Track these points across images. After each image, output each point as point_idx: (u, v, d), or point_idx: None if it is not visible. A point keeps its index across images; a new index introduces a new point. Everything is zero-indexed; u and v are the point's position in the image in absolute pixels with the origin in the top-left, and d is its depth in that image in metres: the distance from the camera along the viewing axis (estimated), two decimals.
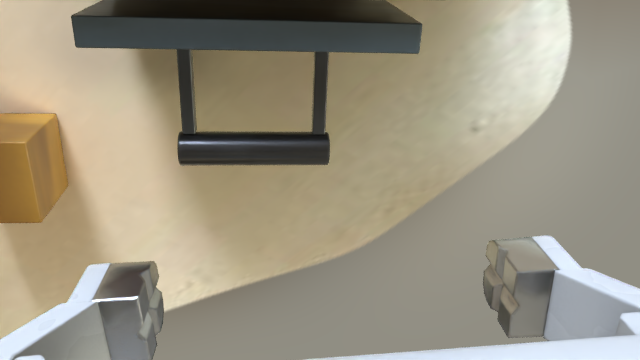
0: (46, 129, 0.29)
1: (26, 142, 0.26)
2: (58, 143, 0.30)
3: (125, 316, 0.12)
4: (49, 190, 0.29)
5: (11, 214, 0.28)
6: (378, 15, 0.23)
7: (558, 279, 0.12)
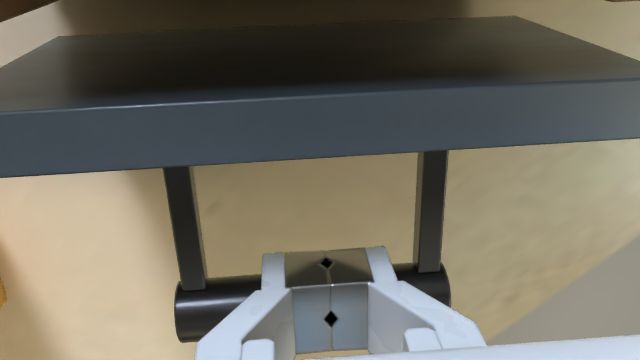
0: None
1: None
2: None
3: (314, 303, 0.12)
4: None
5: None
6: (558, 57, 0.12)
7: (371, 292, 0.12)
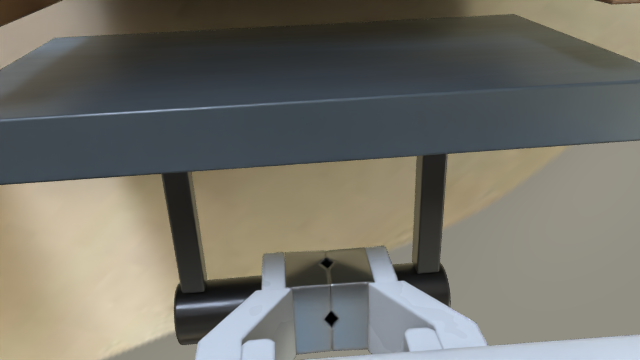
0: None
1: None
2: None
3: (315, 303, 0.12)
4: None
5: None
6: (557, 58, 0.11)
7: (372, 292, 0.12)
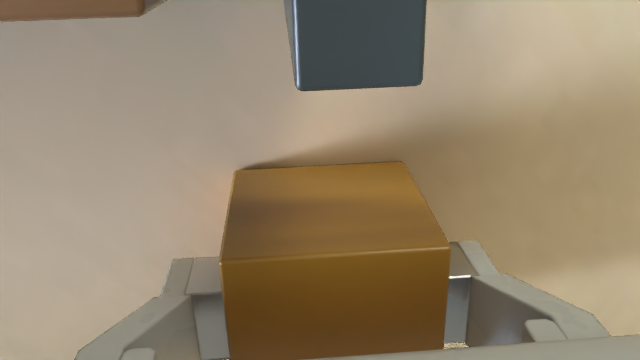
0: (242, 198, 0.13)
1: (220, 260, 0.10)
2: (296, 173, 0.14)
3: (216, 310, 0.12)
4: (383, 208, 0.12)
5: (422, 308, 0.11)
6: None
7: (475, 285, 0.12)
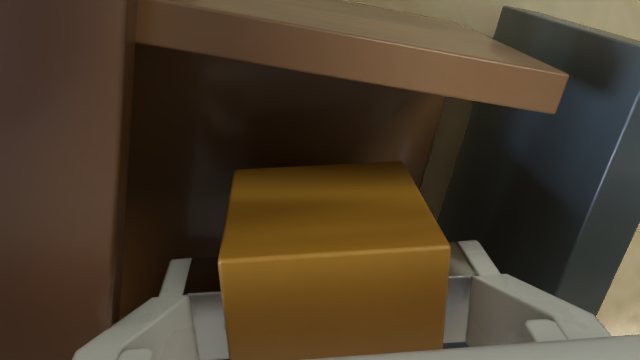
0: (241, 197, 0.13)
1: (219, 259, 0.10)
2: (296, 172, 0.14)
3: (214, 310, 0.12)
4: (382, 208, 0.12)
5: (421, 307, 0.11)
6: (576, 100, 0.12)
7: (475, 285, 0.12)
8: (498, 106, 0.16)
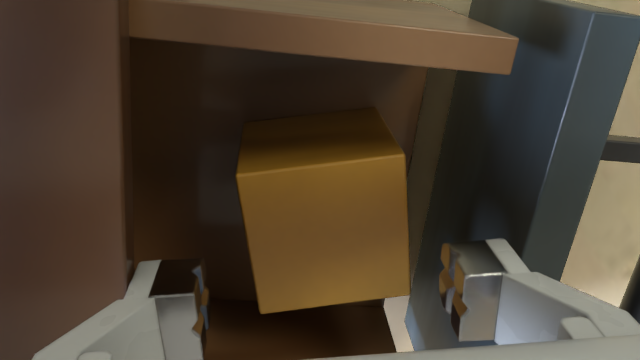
0: (250, 139, 0.16)
1: (236, 174, 0.14)
2: (292, 120, 0.18)
3: (180, 312, 0.12)
4: (356, 136, 0.16)
5: (388, 204, 0.15)
6: (536, 63, 0.13)
7: (506, 283, 0.12)
8: (475, 77, 0.17)
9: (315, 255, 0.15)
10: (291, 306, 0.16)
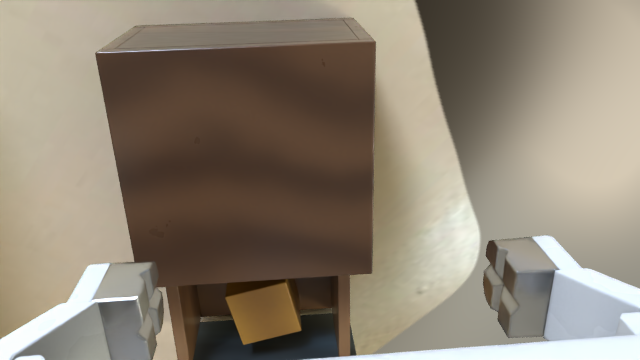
0: None
1: (285, 282, 0.38)
2: None
3: (125, 316, 0.12)
4: (297, 305, 0.41)
5: (281, 330, 0.40)
6: None
7: (558, 279, 0.12)
8: (318, 328, 0.45)
9: (256, 311, 0.39)
10: (231, 307, 0.39)
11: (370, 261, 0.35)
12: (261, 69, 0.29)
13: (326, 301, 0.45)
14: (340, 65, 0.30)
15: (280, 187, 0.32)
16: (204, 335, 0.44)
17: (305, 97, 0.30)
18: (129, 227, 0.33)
